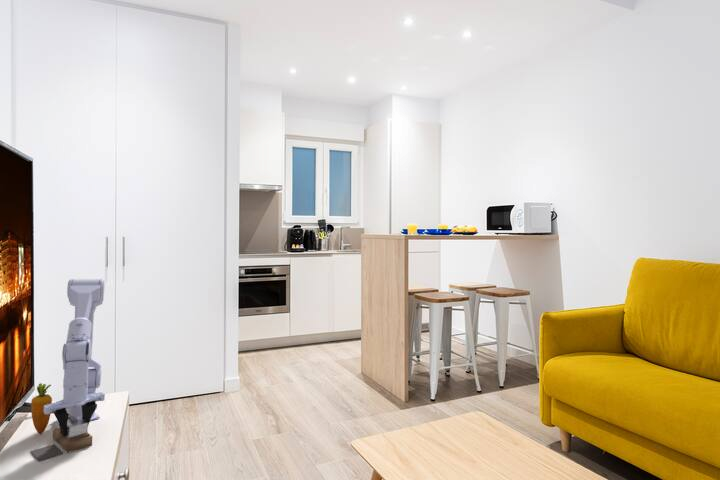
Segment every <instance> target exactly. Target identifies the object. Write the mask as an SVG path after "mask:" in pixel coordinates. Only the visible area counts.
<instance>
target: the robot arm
mask: <svg viewBox="0 0 720 480" xmlns="http://www.w3.org/2000/svg"><path fill="white" fill-rule="evenodd" d="M66 287H67V289H66V290H67V291H66V293H67V298H68V302H69V305H70V306H73V307H74V319H73V320H71V321H70V322H68V323H69V324H68V330H67V336H66V340H65V341H66V342H65V343H63V345H62V354H61V355H62V356H61V359H62V367H63V379H62V383H63V385H62V388H63V394H62V395H63V399H61V400H57V401H55V402H52V404H48V405H44V413H45V414H46V415H47V414H50V413H51V414H52V413H53V415H54V417H55V418H56V421H57V423H58V425H59V428H60V429H61V435H63V436H67V421H68V416H69V414H70V415H71V416H74V417H75V418H76V417H79V416H80V417H81V418H82V419H84V420H85V421H86V422H88V426H89V425H90V424H89V423H90V421H92V420H93V421H94V420H97V419H100V415H99V414H97V412H96V409H97V407H98V404H97V403H96V402H102V401H105V399H106V398H105V393H104V392H97V393H96V390H97V389H98V388H100V386H101V382H102V381H101V380H102V365H101V363H100V361H98V360H96V359H95V358H93V356H92V355H93V342H94V341H93V340H94V338H93V337H94V334H93V333H94V320H95V311H96V309H97V307H99V306H102V305H103V302H104V298H105V279H104V278H99V279H98V278H95V279H93V278H91V279H89V278H85V279H84V278H83V279H82V278H81V279H80V278H79V279H78V278H77V279H75V278H70V279H69V280H68V282H67V286H66ZM51 414H50V415H51Z"/></svg>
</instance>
